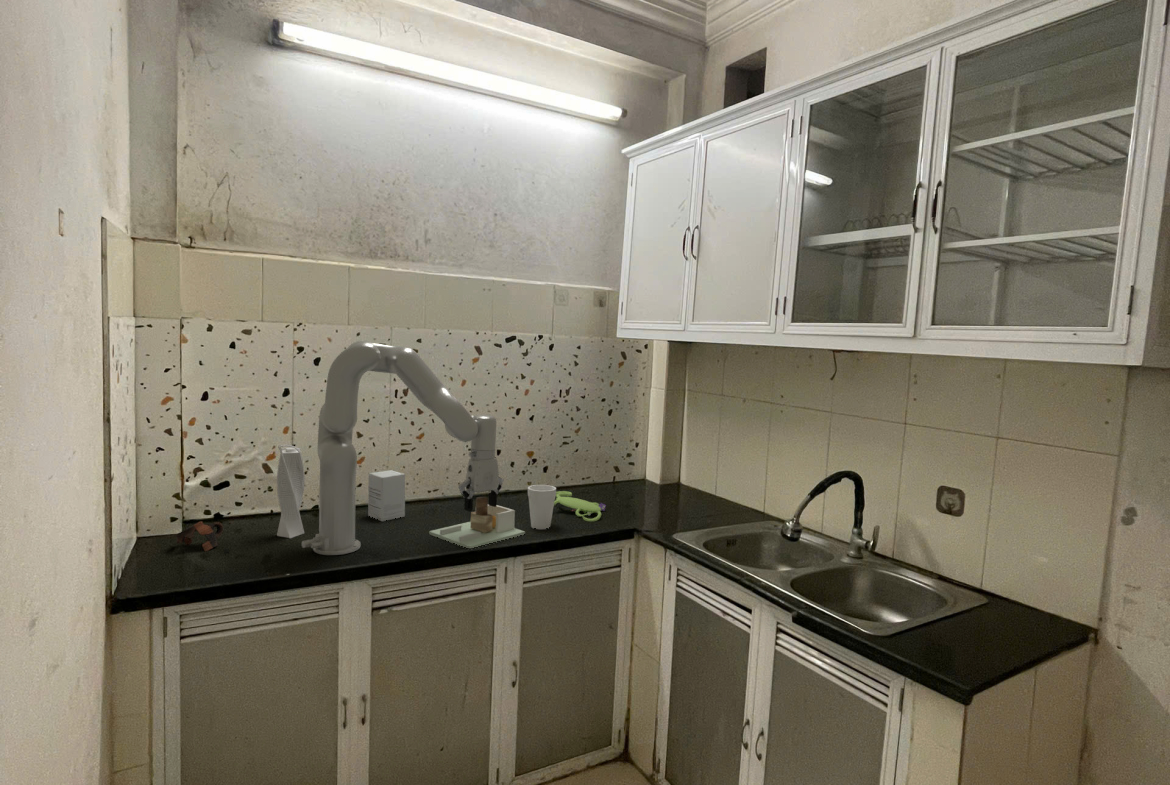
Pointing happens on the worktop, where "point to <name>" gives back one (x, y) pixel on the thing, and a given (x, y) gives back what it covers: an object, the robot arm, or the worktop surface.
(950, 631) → the worktop surface
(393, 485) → the supplement box
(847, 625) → the worktop surface
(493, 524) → the ball
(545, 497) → the foam cup
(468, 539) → the pitch
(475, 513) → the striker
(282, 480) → the skyscraper
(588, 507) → the figurine
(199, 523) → the brown irregular piece
